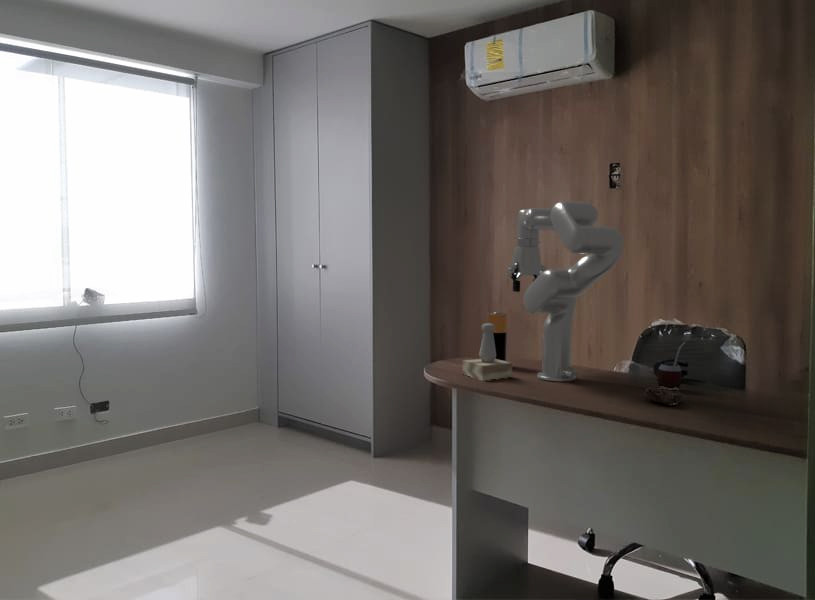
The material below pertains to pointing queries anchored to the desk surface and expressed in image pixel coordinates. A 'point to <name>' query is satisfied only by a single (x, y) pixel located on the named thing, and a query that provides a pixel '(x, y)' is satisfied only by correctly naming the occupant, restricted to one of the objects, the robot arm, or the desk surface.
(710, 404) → the desk surface
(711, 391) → the desk surface
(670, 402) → the concrete sample
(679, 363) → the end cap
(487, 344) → the salt shaker
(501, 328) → the battery
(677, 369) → the mate gourd
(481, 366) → the maple block
